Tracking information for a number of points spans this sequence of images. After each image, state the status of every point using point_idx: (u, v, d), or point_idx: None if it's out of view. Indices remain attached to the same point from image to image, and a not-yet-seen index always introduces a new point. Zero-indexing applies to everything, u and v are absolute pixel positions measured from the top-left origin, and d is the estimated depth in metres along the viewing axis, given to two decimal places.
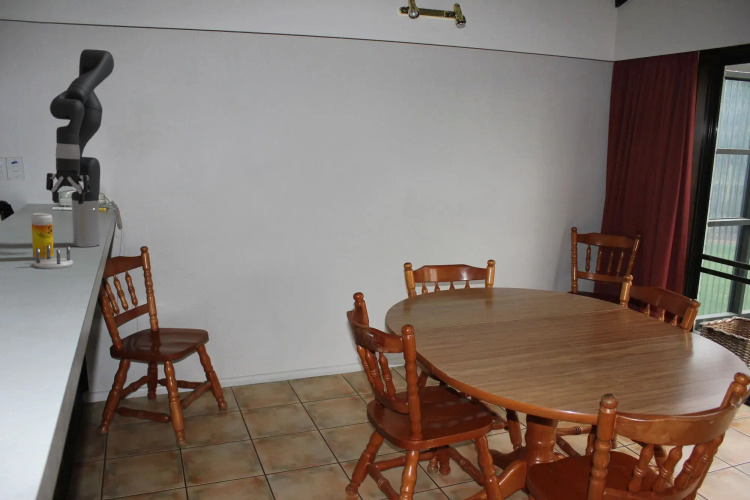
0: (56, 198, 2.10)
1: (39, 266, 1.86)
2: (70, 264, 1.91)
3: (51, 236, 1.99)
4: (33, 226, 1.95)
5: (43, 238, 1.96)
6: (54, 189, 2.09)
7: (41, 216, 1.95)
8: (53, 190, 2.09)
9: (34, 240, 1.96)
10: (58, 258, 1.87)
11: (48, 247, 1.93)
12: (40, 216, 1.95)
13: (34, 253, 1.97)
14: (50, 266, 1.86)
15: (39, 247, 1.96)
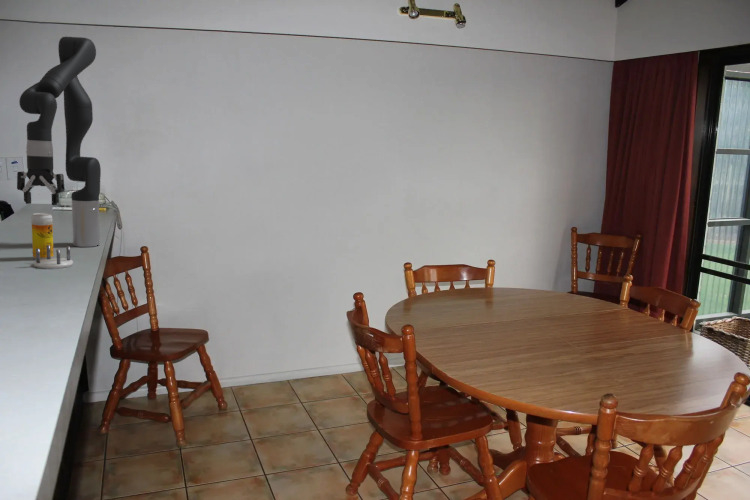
0: (28, 198, 1.96)
1: (39, 266, 1.86)
2: (70, 264, 1.91)
3: (51, 236, 1.99)
4: (33, 226, 1.95)
5: (43, 238, 1.96)
6: (26, 189, 1.95)
7: (41, 216, 1.95)
8: (24, 190, 1.95)
9: (34, 240, 1.96)
10: (58, 258, 1.87)
11: (48, 247, 1.93)
12: (40, 216, 1.95)
13: (34, 253, 1.97)
14: (50, 266, 1.86)
15: (39, 247, 1.96)
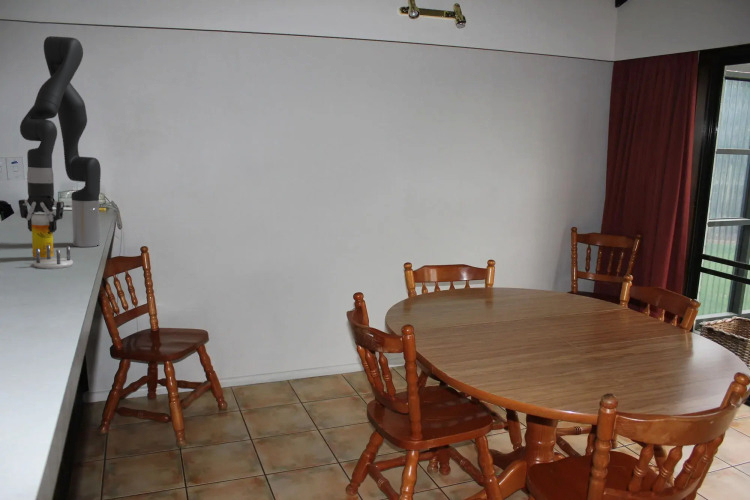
0: None
1: (39, 266, 1.86)
2: (70, 264, 1.91)
3: (51, 236, 1.99)
4: (33, 226, 1.95)
5: (43, 238, 1.96)
6: (29, 217, 1.96)
7: (41, 216, 1.95)
8: (28, 218, 1.96)
9: (34, 240, 1.96)
10: (58, 258, 1.87)
11: (48, 247, 1.93)
12: (40, 216, 1.95)
13: (34, 253, 1.97)
14: (50, 266, 1.86)
15: (39, 247, 1.96)
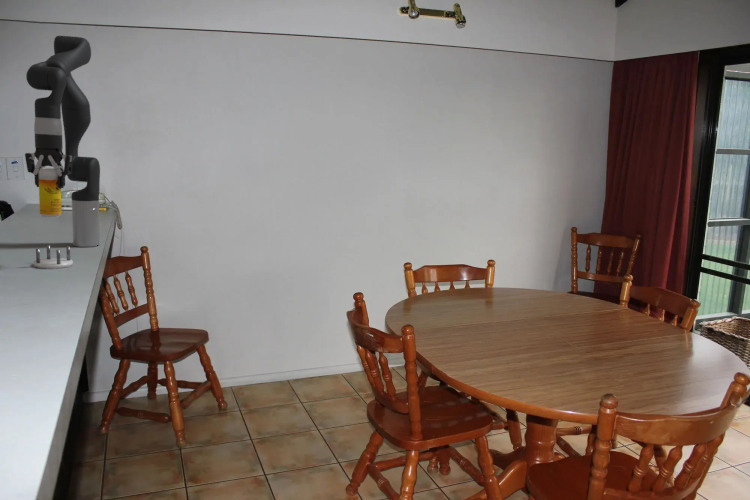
0: None
1: (39, 266, 1.86)
2: (70, 264, 1.91)
3: (59, 192, 1.87)
4: (40, 181, 1.84)
5: (51, 194, 1.85)
6: (37, 171, 1.85)
7: (49, 170, 1.84)
8: (35, 172, 1.85)
9: (41, 196, 1.85)
10: (58, 258, 1.87)
11: (48, 247, 1.93)
12: (48, 170, 1.84)
13: (41, 210, 1.86)
14: (50, 266, 1.86)
15: (46, 203, 1.85)
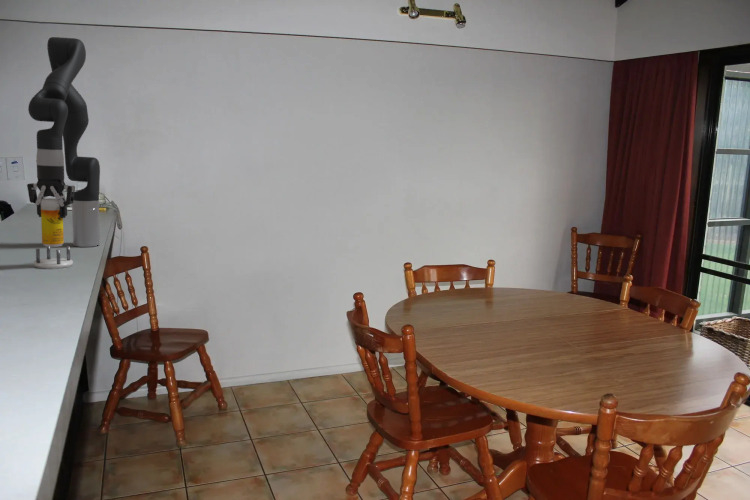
0: None
1: (39, 266, 1.86)
2: (70, 264, 1.91)
3: (61, 222, 1.89)
4: (42, 211, 1.86)
5: (53, 224, 1.87)
6: (39, 202, 1.87)
7: (51, 201, 1.85)
8: (38, 203, 1.87)
9: (43, 226, 1.86)
10: (58, 258, 1.87)
11: (48, 247, 1.93)
12: (50, 201, 1.85)
13: (43, 240, 1.87)
14: (50, 266, 1.86)
15: (49, 233, 1.87)
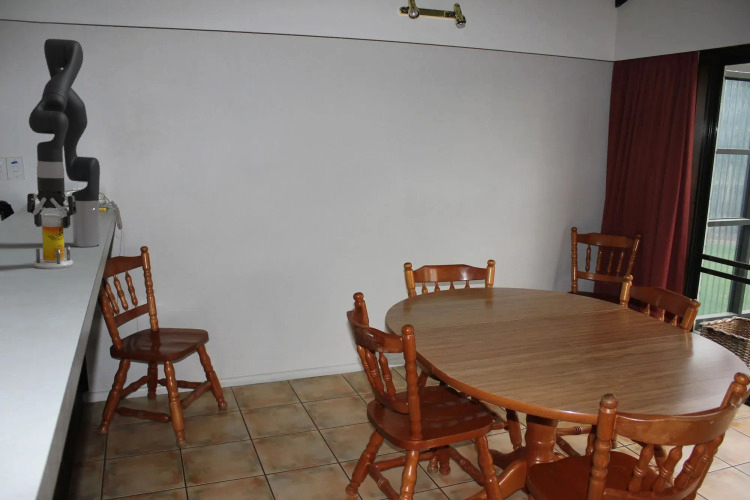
0: (39, 221, 1.88)
1: (39, 266, 1.86)
2: (70, 264, 1.91)
3: (62, 238, 1.90)
4: (43, 228, 1.87)
5: (54, 240, 1.87)
6: (36, 211, 1.87)
7: (52, 217, 1.86)
8: (35, 213, 1.87)
9: (44, 242, 1.87)
10: (58, 258, 1.87)
11: None
12: (51, 217, 1.86)
13: (44, 256, 1.88)
14: (50, 266, 1.86)
15: (50, 250, 1.87)
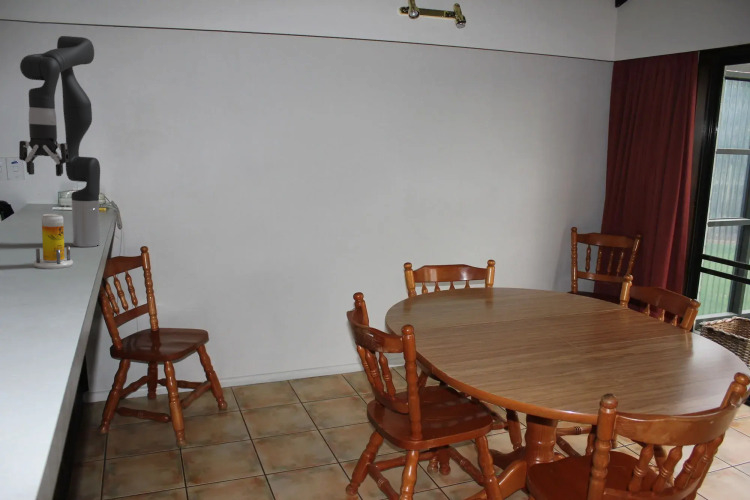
0: (31, 169, 1.88)
1: (39, 266, 1.86)
2: (70, 264, 1.91)
3: (62, 238, 1.90)
4: (43, 228, 1.87)
5: (54, 240, 1.88)
6: (28, 159, 1.87)
7: (52, 217, 1.86)
8: (27, 160, 1.87)
9: (44, 242, 1.87)
10: (58, 258, 1.87)
11: None
12: (51, 217, 1.86)
13: (44, 256, 1.88)
14: (50, 266, 1.86)
15: (49, 249, 1.88)
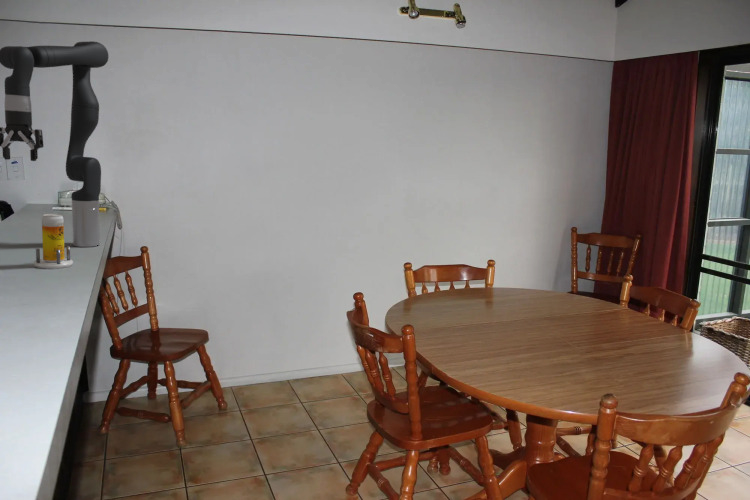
0: (7, 154, 1.96)
1: (39, 266, 1.86)
2: (70, 264, 1.91)
3: (62, 238, 1.90)
4: (43, 228, 1.87)
5: (54, 240, 1.88)
6: (4, 144, 1.95)
7: (52, 217, 1.86)
8: (3, 145, 1.95)
9: (44, 242, 1.87)
10: (58, 258, 1.87)
11: None
12: (51, 217, 1.86)
13: (44, 256, 1.88)
14: (50, 266, 1.86)
15: (49, 249, 1.88)
